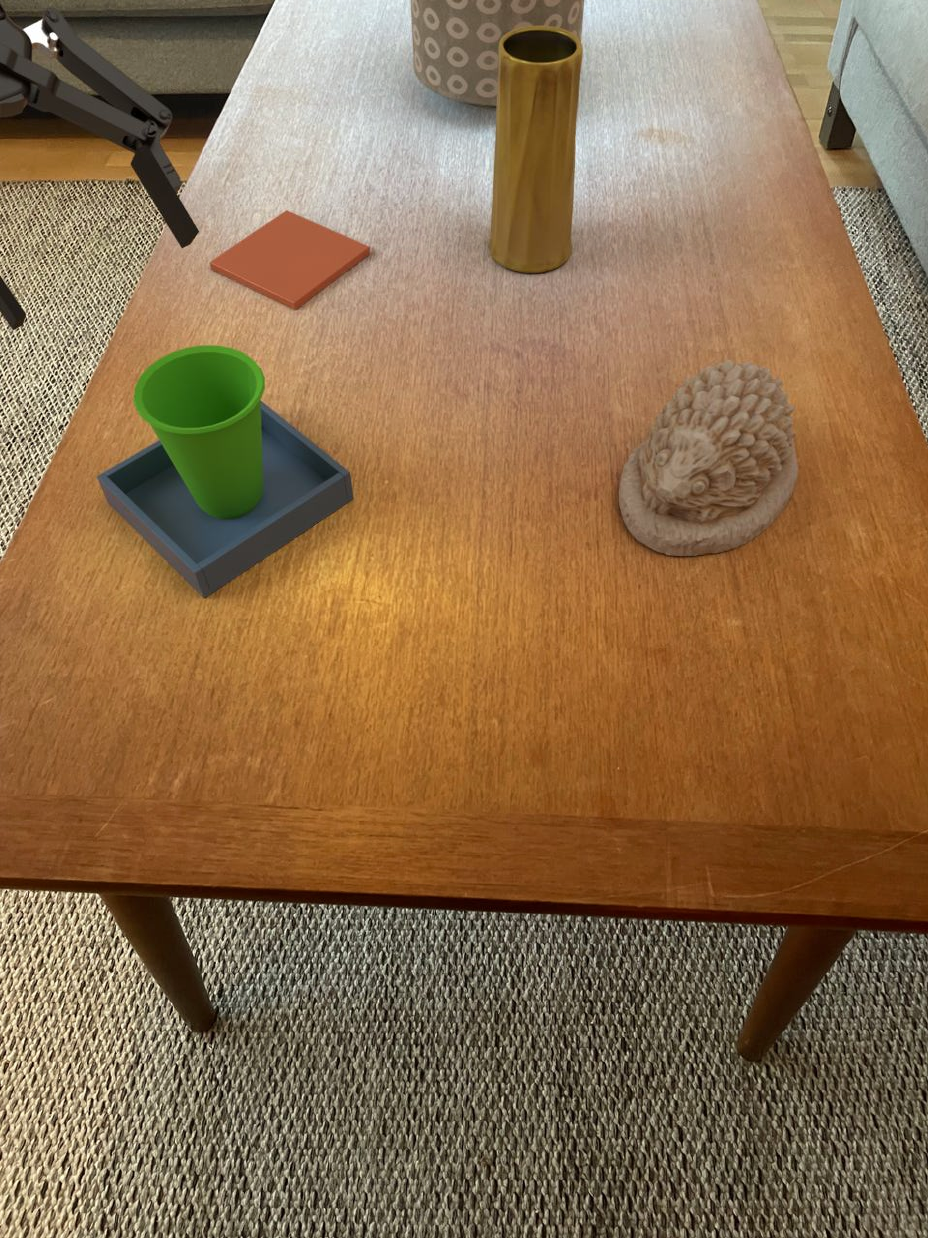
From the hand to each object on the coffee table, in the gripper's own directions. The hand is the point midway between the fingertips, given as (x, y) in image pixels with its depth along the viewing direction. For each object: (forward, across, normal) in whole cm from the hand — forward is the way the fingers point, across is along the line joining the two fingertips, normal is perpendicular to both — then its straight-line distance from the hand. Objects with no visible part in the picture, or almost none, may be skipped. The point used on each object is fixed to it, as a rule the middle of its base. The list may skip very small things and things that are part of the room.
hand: (108, 280), depth 68 cm
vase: (+12, -41, -10) cm, 44 cm away
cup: (+17, 0, -5) cm, 18 cm away
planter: (-5, -61, -28) cm, 67 cm away
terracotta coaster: (+2, -23, -21) cm, 31 cm away
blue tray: (+17, 0, -5) cm, 18 cm away
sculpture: (+35, -28, +12) cm, 47 cm away
